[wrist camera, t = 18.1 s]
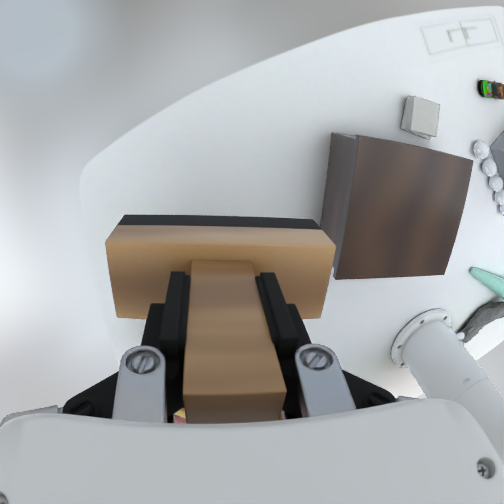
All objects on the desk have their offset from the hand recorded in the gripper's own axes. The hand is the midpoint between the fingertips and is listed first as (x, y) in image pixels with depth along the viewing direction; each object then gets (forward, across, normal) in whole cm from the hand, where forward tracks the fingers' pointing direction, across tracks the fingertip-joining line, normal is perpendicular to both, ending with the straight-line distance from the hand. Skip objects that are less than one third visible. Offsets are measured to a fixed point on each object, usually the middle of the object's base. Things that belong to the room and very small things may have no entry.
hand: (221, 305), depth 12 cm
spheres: (+21, -39, -4) cm, 44 cm away
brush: (+5, 0, 0) cm, 5 cm away
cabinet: (+21, -19, 0) cm, 29 cm away
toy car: (+21, -36, -18) cm, 45 cm away
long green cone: (+23, -41, +11) cm, 48 cm away
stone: (+17, -51, +22) cm, 58 cm away
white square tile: (+19, -22, -10) cm, 31 cm away
